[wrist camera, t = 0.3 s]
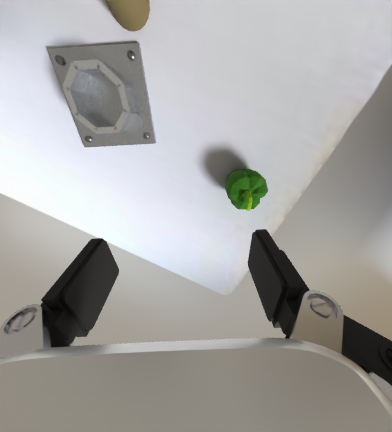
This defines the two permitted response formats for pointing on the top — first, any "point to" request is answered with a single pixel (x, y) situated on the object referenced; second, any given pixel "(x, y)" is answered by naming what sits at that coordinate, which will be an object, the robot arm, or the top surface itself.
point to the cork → (130, 13)
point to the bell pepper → (245, 188)
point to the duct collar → (106, 93)
